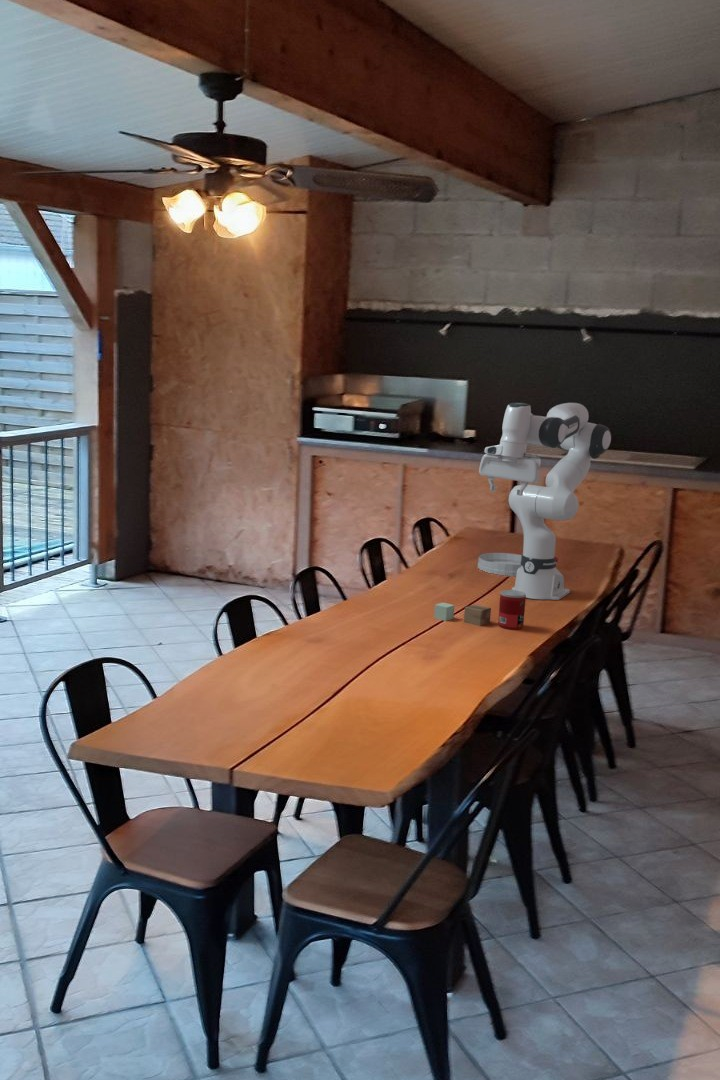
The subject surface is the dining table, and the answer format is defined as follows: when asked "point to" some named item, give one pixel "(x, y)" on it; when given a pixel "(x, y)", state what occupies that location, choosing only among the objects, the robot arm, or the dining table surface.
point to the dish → (500, 563)
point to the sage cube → (444, 611)
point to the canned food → (511, 609)
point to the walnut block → (477, 615)
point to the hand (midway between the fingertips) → (506, 493)
